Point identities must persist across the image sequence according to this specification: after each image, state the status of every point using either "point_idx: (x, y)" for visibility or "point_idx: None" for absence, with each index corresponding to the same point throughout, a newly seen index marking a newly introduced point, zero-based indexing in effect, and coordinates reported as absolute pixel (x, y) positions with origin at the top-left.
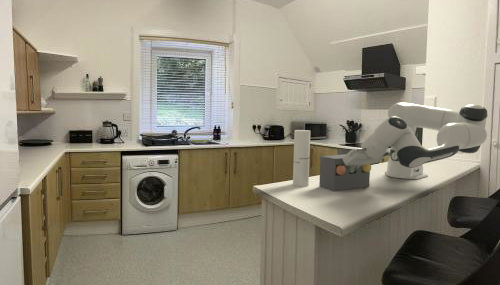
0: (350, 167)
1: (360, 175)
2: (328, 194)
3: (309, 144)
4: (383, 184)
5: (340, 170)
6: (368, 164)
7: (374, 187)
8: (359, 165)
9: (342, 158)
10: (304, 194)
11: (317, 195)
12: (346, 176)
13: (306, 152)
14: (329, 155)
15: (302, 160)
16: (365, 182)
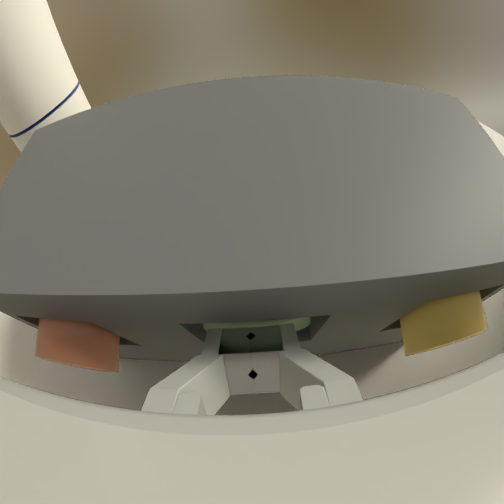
0: (221, 326)
1: (357, 337)
2: (62, 383)
3: (3, 56)
4: (490, 321)
5: (58, 361)
6: (468, 334)
7: (417, 372)
8: (295, 403)
9: (22, 295)
10: (10, 326)
11: (26, 366)
12: (183, 350)
13: (2, 107)
14: (111, 103)
15: (15, 142)
16: (390, 340)
